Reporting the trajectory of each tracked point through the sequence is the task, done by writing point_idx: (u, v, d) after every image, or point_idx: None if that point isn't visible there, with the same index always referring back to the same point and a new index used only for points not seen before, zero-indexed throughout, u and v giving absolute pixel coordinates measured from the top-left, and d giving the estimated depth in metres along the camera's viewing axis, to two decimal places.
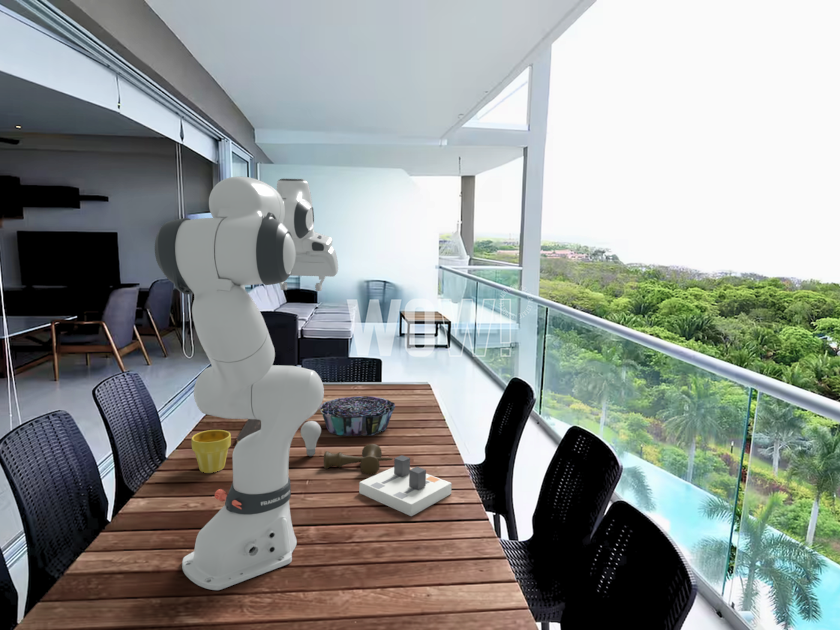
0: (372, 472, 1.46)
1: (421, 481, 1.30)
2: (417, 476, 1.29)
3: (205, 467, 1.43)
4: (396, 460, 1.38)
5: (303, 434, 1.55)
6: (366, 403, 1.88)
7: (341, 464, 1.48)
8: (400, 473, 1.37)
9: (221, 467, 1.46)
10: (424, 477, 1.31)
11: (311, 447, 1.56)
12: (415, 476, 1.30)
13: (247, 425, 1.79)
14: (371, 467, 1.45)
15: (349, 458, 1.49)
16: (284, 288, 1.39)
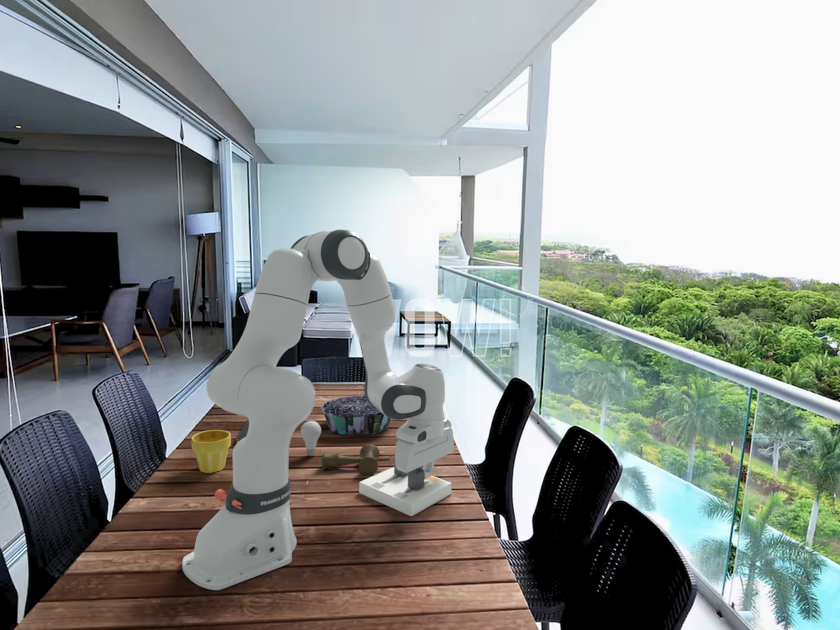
0: (370, 473, 1.45)
1: (420, 482, 1.30)
2: (416, 477, 1.29)
3: (205, 467, 1.43)
4: None
5: (303, 434, 1.55)
6: (367, 402, 1.89)
7: (339, 465, 1.47)
8: (400, 473, 1.37)
9: (221, 467, 1.46)
10: (423, 477, 1.31)
11: (311, 447, 1.56)
12: (414, 477, 1.29)
13: (247, 425, 1.79)
14: (369, 468, 1.45)
15: (347, 459, 1.48)
16: None
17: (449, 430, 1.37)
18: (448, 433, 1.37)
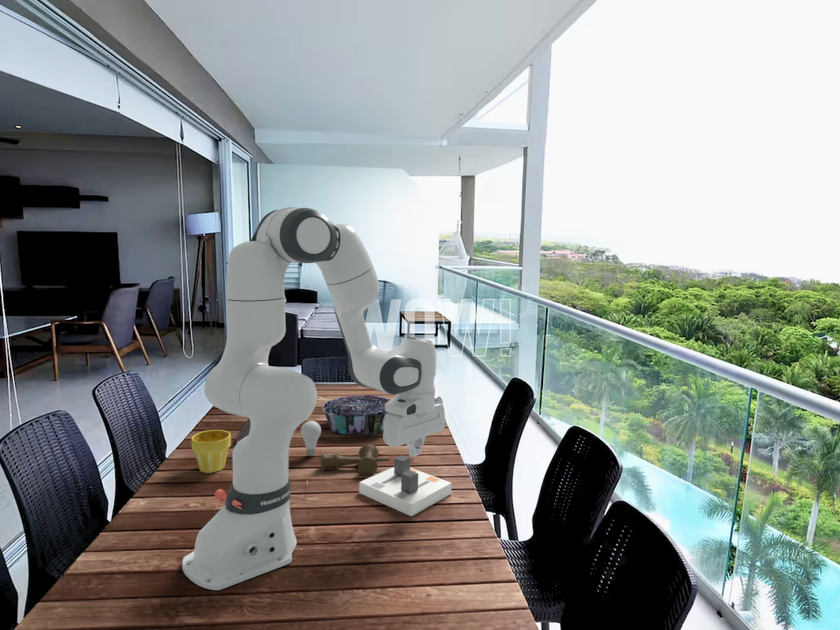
0: (370, 473, 1.45)
1: (413, 485, 1.28)
2: (409, 480, 1.27)
3: (205, 467, 1.43)
4: (396, 460, 1.38)
5: (303, 434, 1.55)
6: (368, 402, 1.90)
7: (338, 465, 1.47)
8: (400, 473, 1.37)
9: (221, 467, 1.46)
10: (417, 481, 1.29)
11: (311, 447, 1.56)
12: (407, 480, 1.27)
13: (247, 425, 1.79)
14: (369, 468, 1.45)
15: (347, 459, 1.48)
16: None
17: (441, 407, 1.33)
18: (439, 409, 1.33)
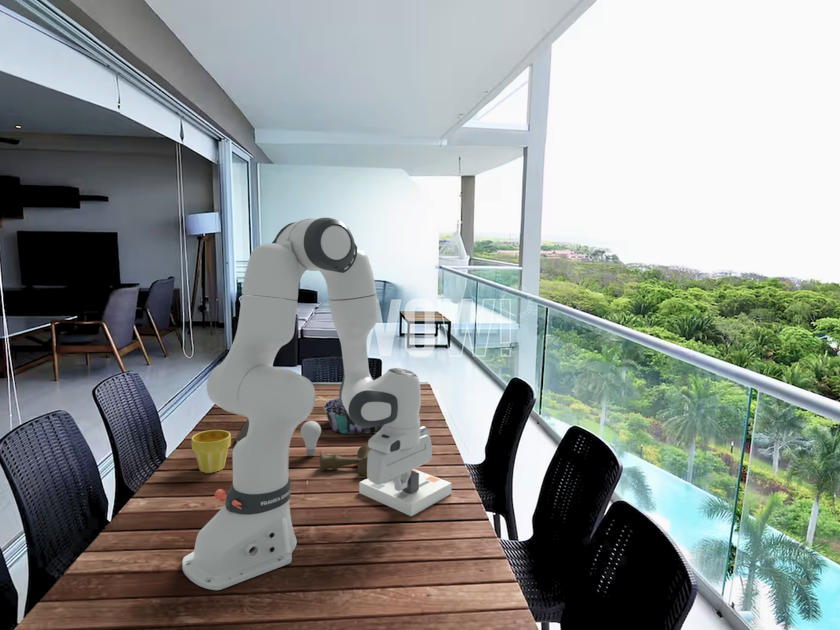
0: None
1: (414, 485, 1.28)
2: (410, 479, 1.27)
3: (205, 467, 1.43)
4: None
5: (303, 434, 1.55)
6: None
7: (337, 466, 1.47)
8: None
9: (221, 467, 1.46)
10: (417, 480, 1.29)
11: (311, 447, 1.56)
12: None
13: (246, 425, 1.79)
14: None
15: (346, 460, 1.47)
16: None
17: (427, 438, 1.30)
18: (426, 441, 1.30)
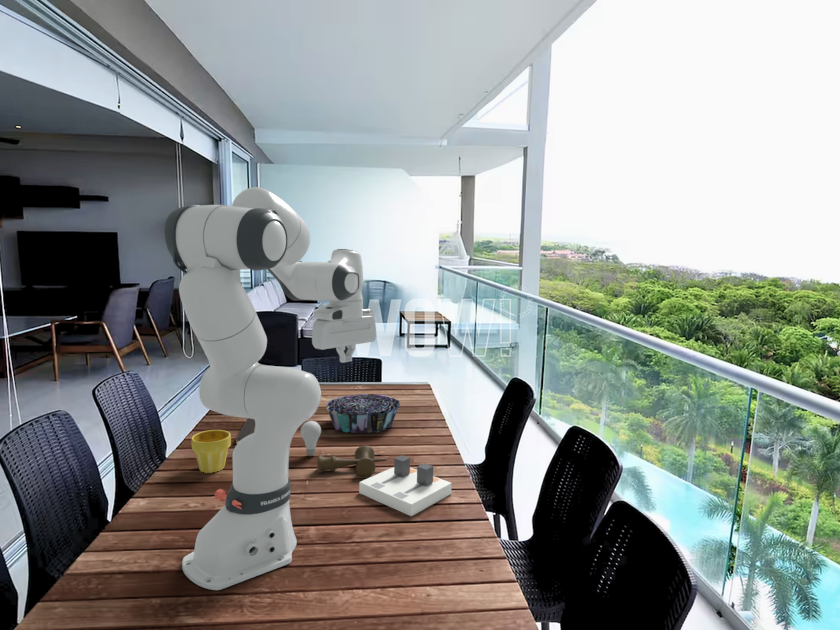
0: (368, 474, 1.44)
1: (429, 477, 1.33)
2: (425, 472, 1.32)
3: (205, 467, 1.43)
4: (396, 460, 1.38)
5: (303, 434, 1.55)
6: (371, 401, 1.91)
7: (335, 467, 1.46)
8: (400, 473, 1.37)
9: (221, 467, 1.46)
10: (432, 473, 1.34)
11: (311, 447, 1.56)
12: (423, 472, 1.32)
13: (246, 425, 1.79)
14: (367, 469, 1.44)
15: (344, 461, 1.47)
16: None
17: (371, 318, 1.42)
18: (370, 320, 1.42)
